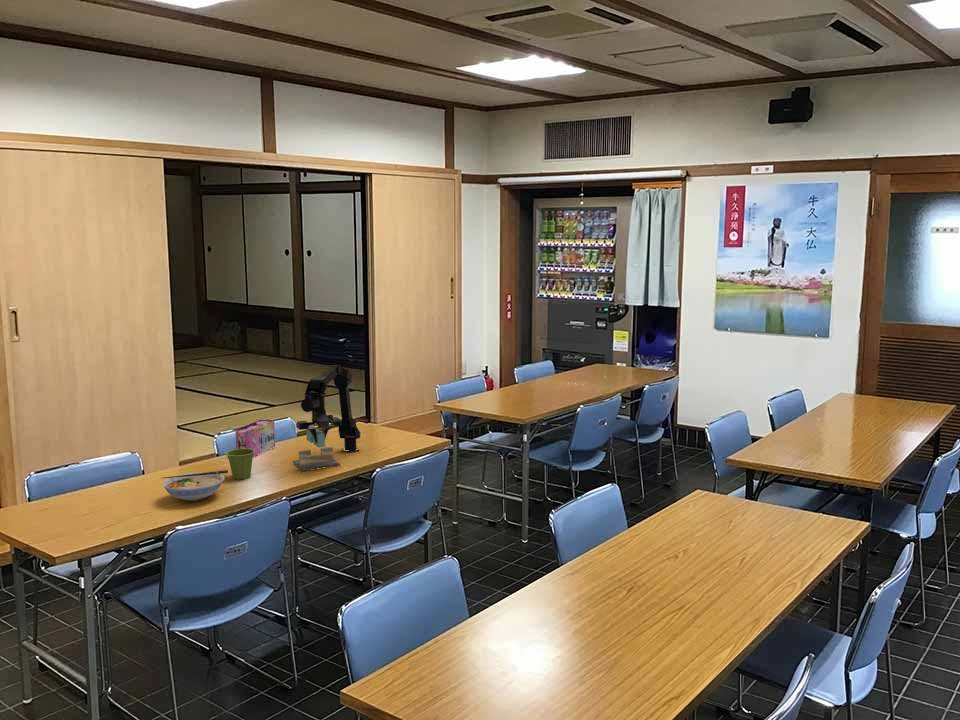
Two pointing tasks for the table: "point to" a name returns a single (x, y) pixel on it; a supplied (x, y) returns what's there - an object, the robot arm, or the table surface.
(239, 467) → the plant pot
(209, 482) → the ramen bowl
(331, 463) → the slotted base
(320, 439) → the teal slotted plate
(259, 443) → the gum box
